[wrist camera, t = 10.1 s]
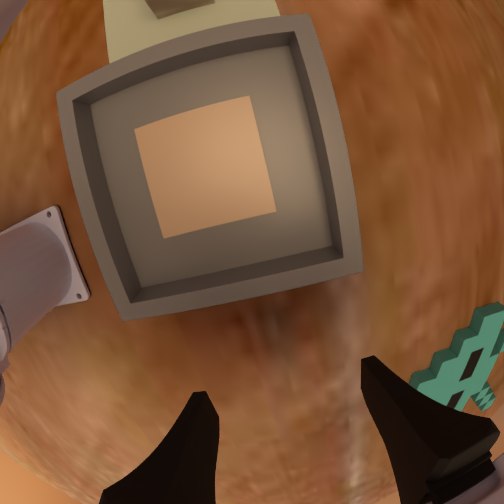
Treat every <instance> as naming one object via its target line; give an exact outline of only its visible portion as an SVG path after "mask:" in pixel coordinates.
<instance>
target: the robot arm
mask: <svg viewBox="0 0 504 504" xmlns="http://www.w3.org/2000/svg"><path fill="white" fill-rule="evenodd" d="M49 212H50V213H51V216H50V214H49ZM79 294H80V295H81V296H80V295H79ZM89 297H90V292H89V290H88V288H87V285H86V283H85V280H84V278H83V276H82V273H81V271H80V268H79V265H78V263H77V260H76V258H75V255H74V252H73V249H72V247H71V244H70V241H69V238H68V235H67V232H66V229H65V226H64V222H63V219H62V216H61V213H60V209H59V207H58V206H56V205H55V206H51V207H49V208H47V209H45V210H43V211H41V212H39V213H37V214H35V215H33V216H31V217H29V218H27V219H25V220H23V221H21V222H19V223H17V224H15V225H14V226H12V227H10V228H8V229H6V230H4V231H3V232H1V233H0V406H1V404H2V401H3V398H4V394H5V384H4V379H3V376H2V373H3V372H4V371H5V370H6V369H7V368H8V366H9V365H10V364H9V361H8V353H10V352H11V350H12V349H13V348H14V347H15V346H16V345H17V344H18V343H19V342H20V341H21V340H22V339H23V338H24V337H25V336H26V335H27V334H28V333H29V332H30V331H31V330H32V329H33V328H34V327H35V326H36V325H37V324H38V323H39V322H40V321H41V320H42V319H43V318H44V317H45V316H46V315H47V314H48V313H49V312H50V311H51V310H52V309H53V308H54V307H55V306H61V305H66V304H71V303H76V302H81V301H86V300H88V299H89ZM361 390H362V393H363V396H364V399H365V402H366V405H367V407H368V409H369V412H370V414H371V416H372V418H373V420H374V422H375V424H376V426H377V428H378V430H379V432H380V434H381V437H382V439H383V441H384V443H385V446H386V449H387V452H388V455H389V458H390V461H391V465H392V468H393V472H394V475H395V479H396V483H397V487H398V492H399V496H400V502H401V504H504V453H503V454H502V455H500V456H499V457H498V458H496V459H495V460H494V461H493V462H492V461H491V460H490V457H491V456H492V454H491V453H490V451H489V450H490V449H491V447H492V446H493V445H494V443H495V442H496V441H497V439H498V437H499V435H500V431H499V430H498V428H497V427H496V425H495V424H494V423H493V421H492V420H491V419H490V418H486V417H480V416H475V415H471V414H468V413H464V412H461V411H458V410H456V409H453V408H450V407H448V406H445V405H443V404H441V403H439V402H437V401H435V400H433V399H431V398H429V397H428V396H426V395H424V394H423V393H421V392H419V391H418V390H416V389H415V388H413V387H412V386H410V385H409V384H408V383H406V382H405V381H404V380H402V379H401V378H400V377H399V376H397V375H396V374H395V373H394V372H392V371H391V370H390V369H389V368H388V367H387V366H385V365H384V364H383V363H382V362H381V361H380V360H379V359H378V358H377V357H375V356H374V355H373V356H370V357H367V358H363V359H361ZM218 444H219V416H218V414H217V412H216V410H215V408H214V406H213V404H212V402H211V400H210V399H209V397H208V395H207V393H206V391H202V392H193V394H192V395H191V397H190V399H189V400H188V402H187V404H186V406H185V407H184V409H183V411H182V412H181V414H180V416H179V417H178V419H177V420H176V422H175V423H174V425H173V427H172V428H171V429H170V431H169V432H168V434H167V435H166V436H165V438H164V439H163V440H162V442H161V443H160V444H159V445H158V447H157V448H156V449H155V450H154V451H153V452H152V453H151V454H150V456H149V457H148V458H146V459H145V460H144V461H143V462H142V463H141V464H140V465H139V466H138V467H137V468H136V469H134V470H133V471H132V472H131V473H129V474H128V475H127V476H125V477H124V478H123V479H121V480H120V481H118V482H116V483H115V484H113V485H111V486H110V487H108V488H106V489H104V490H103V492H102V495H101V499H100V502H99V504H216V502H215V470H216V462H217V453H218Z"/></svg>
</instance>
